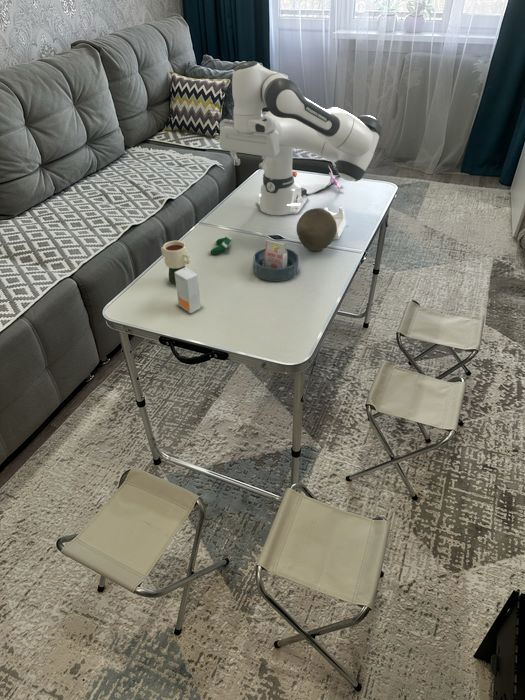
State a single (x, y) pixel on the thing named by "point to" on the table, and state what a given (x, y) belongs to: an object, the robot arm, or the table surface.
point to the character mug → (175, 257)
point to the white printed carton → (275, 255)
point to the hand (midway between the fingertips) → (249, 166)
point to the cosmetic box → (187, 290)
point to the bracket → (338, 220)
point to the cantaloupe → (316, 229)
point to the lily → (333, 181)
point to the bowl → (275, 273)
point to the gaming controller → (221, 245)
